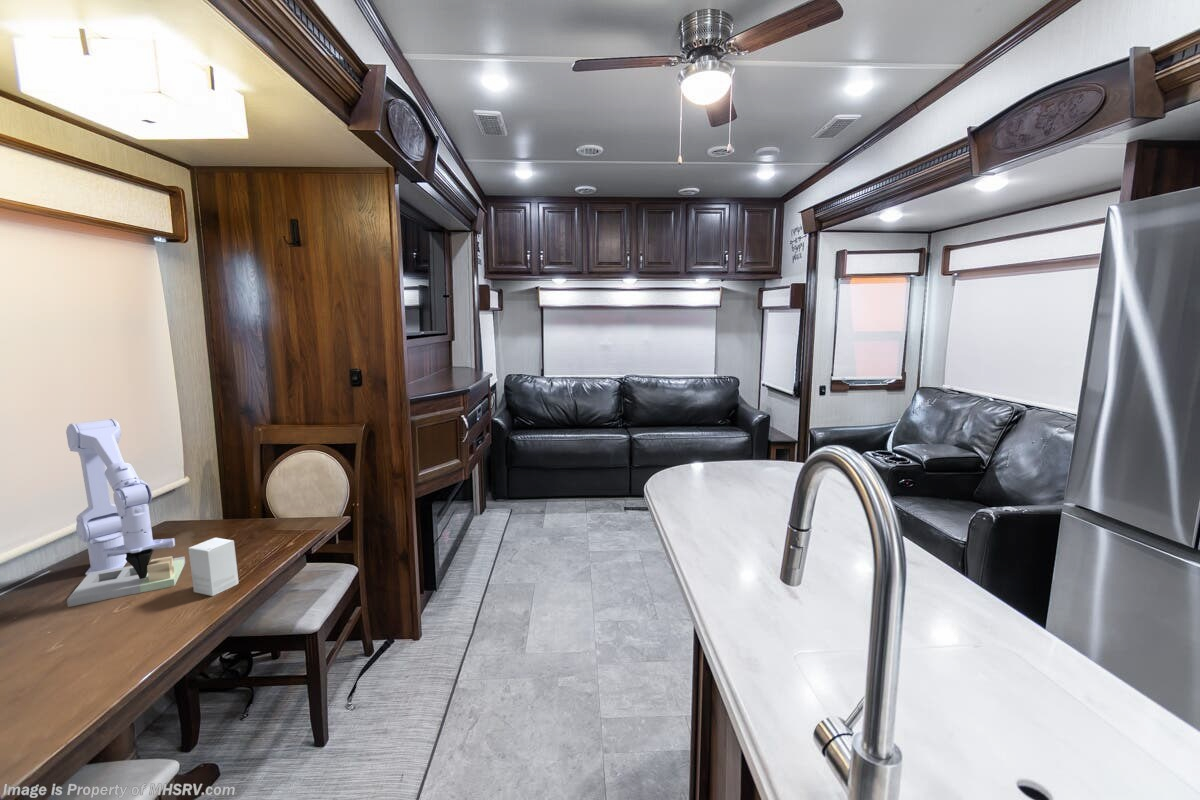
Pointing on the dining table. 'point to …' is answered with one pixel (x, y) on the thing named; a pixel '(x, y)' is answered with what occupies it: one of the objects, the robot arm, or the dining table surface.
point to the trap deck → (119, 584)
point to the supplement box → (213, 566)
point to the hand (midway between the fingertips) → (143, 577)
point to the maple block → (160, 568)
